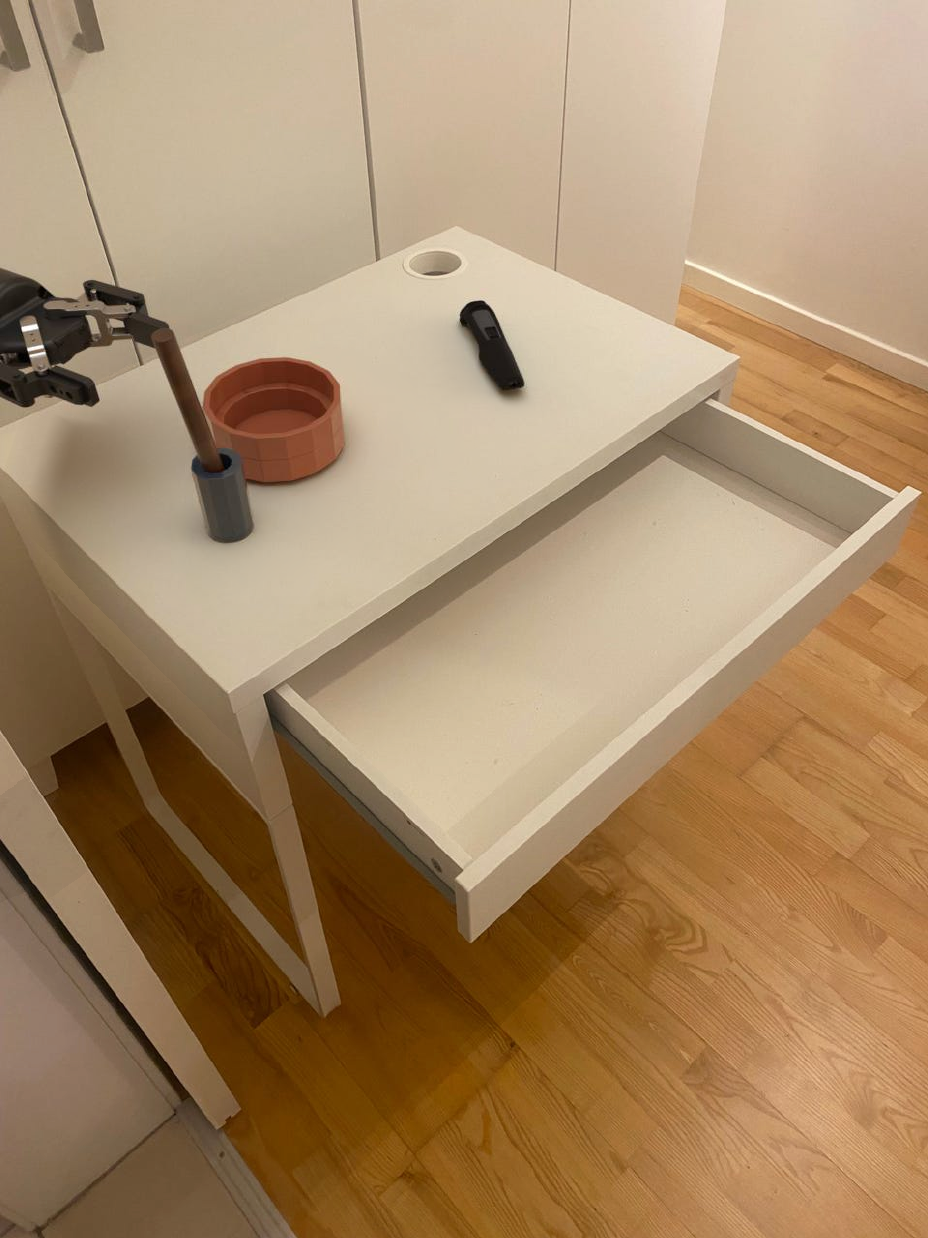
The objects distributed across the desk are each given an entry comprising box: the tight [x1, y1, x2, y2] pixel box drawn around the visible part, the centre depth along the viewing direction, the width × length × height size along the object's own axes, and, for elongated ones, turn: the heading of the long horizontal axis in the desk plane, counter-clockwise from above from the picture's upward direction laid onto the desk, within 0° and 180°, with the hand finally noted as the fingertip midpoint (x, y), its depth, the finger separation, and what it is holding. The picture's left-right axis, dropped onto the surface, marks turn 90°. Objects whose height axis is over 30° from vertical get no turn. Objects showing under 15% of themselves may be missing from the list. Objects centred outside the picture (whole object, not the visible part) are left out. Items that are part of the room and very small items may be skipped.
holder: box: [190, 448, 255, 543], centre depth 80 cm, size 4×4×7 cm
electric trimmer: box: [459, 299, 525, 391], centre depth 99 cm, size 4×16×3 cm, turn 15°
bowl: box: [201, 356, 346, 483], centre depth 88 cm, size 12×12×6 cm
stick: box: [151, 327, 225, 473], centre depth 75 cm, size 2×2×19 cm
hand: (133, 365), depth 74 cm, fingers open, 8 cm apart
